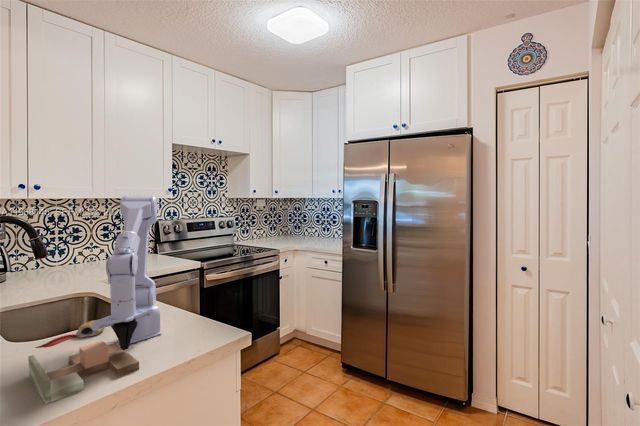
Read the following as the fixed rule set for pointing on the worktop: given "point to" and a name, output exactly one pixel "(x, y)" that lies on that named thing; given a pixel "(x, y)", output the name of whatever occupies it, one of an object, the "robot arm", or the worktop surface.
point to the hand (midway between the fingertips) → (124, 348)
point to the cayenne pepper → (57, 340)
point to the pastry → (87, 330)
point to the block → (94, 354)
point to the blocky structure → (77, 373)
